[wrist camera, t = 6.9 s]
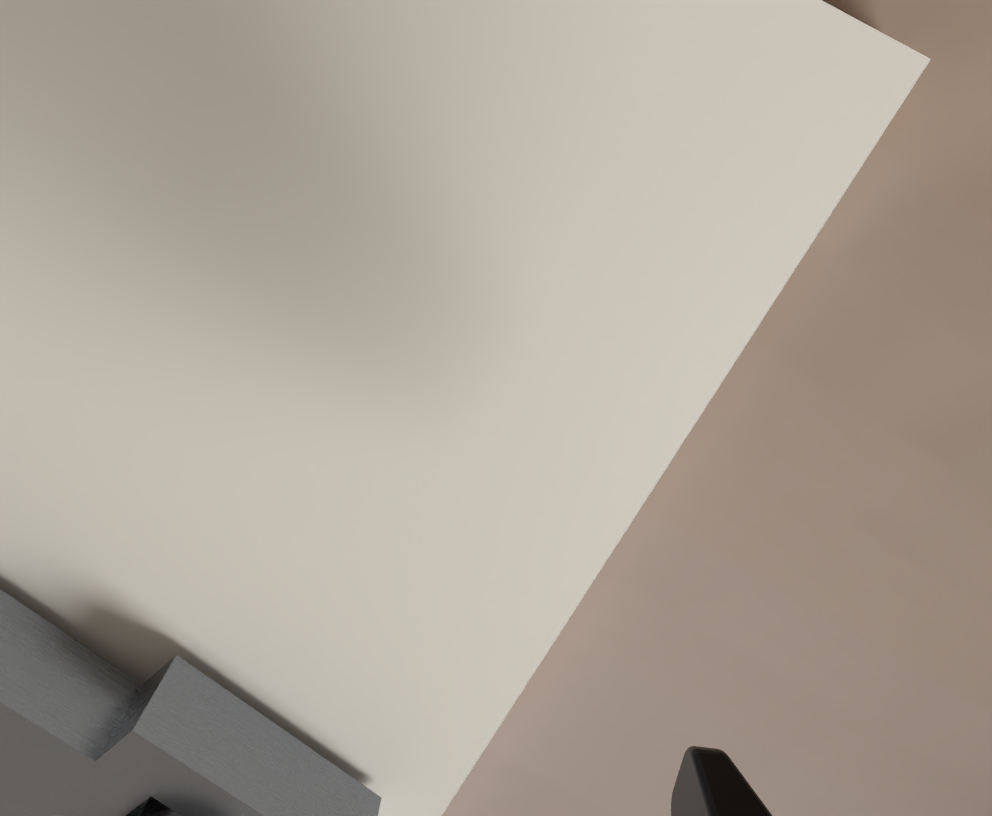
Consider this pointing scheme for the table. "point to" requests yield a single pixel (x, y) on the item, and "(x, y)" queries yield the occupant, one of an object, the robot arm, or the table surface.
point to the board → (385, 324)
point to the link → (144, 739)
